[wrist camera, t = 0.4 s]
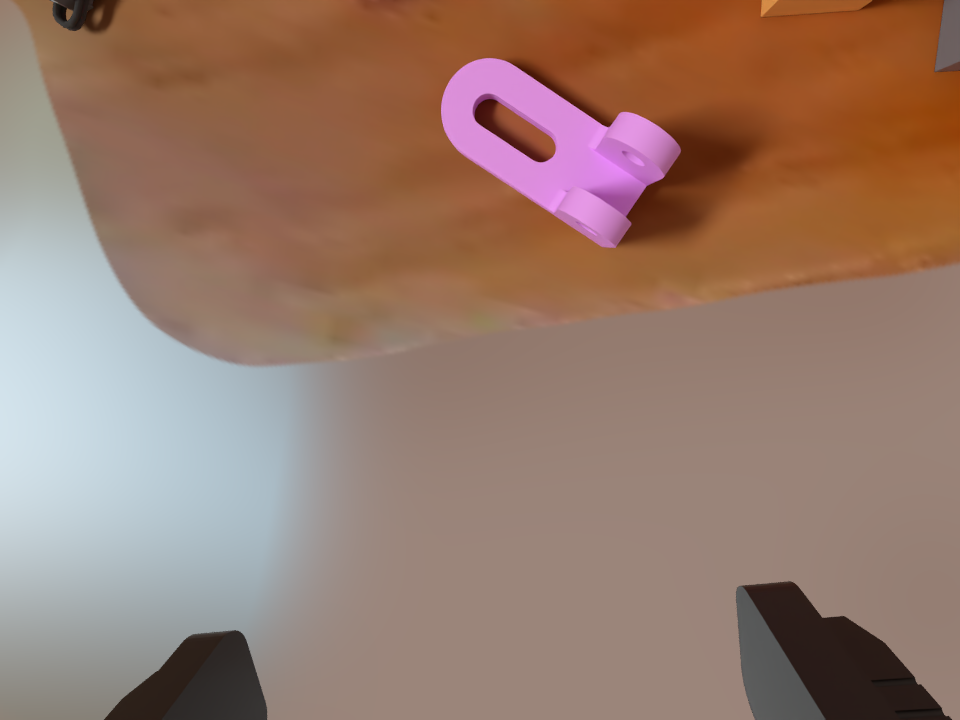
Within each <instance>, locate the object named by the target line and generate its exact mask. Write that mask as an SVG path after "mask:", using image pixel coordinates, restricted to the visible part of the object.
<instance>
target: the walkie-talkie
mask: <svg viewBox="0 0 960 720" xmlns="http://www.w3.org/2000/svg"><path fill="white" fill-rule="evenodd" d="M50 1H52V2H54V3H53V16H54V18H55V20H56V22H58V23H59V24H60V25H61V26H63V27H64V28H67V29H69V30H71V31H77V30H79V29H81V27H82V25H83V23H84V22H85V20H86V15H87V11H89V10H90V9H92V8H93V6H92V4H93V0H50ZM67 8H68V9H70V10H72V11H73V14H72V16H71V18H70V19H69V20H68V21H67V20H66V10H67Z"/></svg>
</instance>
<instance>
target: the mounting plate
mask: <svg viewBox="0 0 960 720" xmlns="http://www.w3.org/2000/svg"><path fill="white" fill-rule="evenodd" d="M959 70H960V0H944V6H943V14H942V21H941V28H940V36H939V43H938V50H937V58H936V65H935V72H942V71H959Z"/></svg>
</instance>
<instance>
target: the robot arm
mask: <svg viewBox="0 0 960 720" xmlns="http://www.w3.org/2000/svg"><path fill="white" fill-rule="evenodd" d="M736 603H737V615H738V628H739V642H740V655H741V668H742V676H743V682H744V686H745V690H746V694H747V697H748V701H749V704H750V707H751V710H752V713H753V716H754V718H755V720H952V719H951V718H950V717H949V716H945V715H944V713H943V712H942V708H941V707H940V705H939V704H938V703H937V702H936V701H935V700H934V699H933V698H932V696H931V695H930V694H929V693H928V692H927V691H926V689H924V687H923V686H922V685H918V684H917V683H916V681H915V677H914V676H913V675H912V674H911V673H910V671H909V670H908V669H907V668H906V667H905V666H904V664H903V663H902V662H901V661H900V660H899V659H898V658H897V657H896V656H895V654H894V653H893V652H892V651H891V650H890V648H889V647H888V646H887V645H886V644H885V643H884V642H883V641H881V640H880V639H878V638H877V637H875V636H874V635H872V634H870V633H869V632H867V631H866V630H864V629H863V628H861V627H860V626H858V625H857V624H855V623H854V622H852V621H851V620H849V619H848V618H846V617H844V616H840V617H829V618H822V617H821V615H820V614H819V613H818V612H817V610H816V609H815V608H814V606H813V605H812V604H811V602H810V601H809V600H808V599H807V597H806V596H805V595H804V593H803V592H802V591H801V590H800V588H799V587H798V586H797V585H796V584H795V583H793V582H778V583H768V584H756V585H745V586H739V587H738V588H737V591H736ZM104 720H267V707H266V703H265V699H264V696H263V693H262V689H261V686H260V683H259V680H258V676H257V673H256V670H255V667H254V664H253V660H252V657H251V654H250V651H249V648H248V644H247V641H246V639H245V637H244V635H243V634H242V633H241V632H239V631H236V630H234V631H223V632H214V633H213V632H212V633H201V634H193V635H191V636H189V637H188V638H186V639H185V640H184V641H183V642H182V643H181V645H180V646H179V647H178V648H177V650H176V651H175V652H174V653H173V654H172V655H171V657H170V658H169V659H168V660H167V661H166V662H165V664H164V665H163V666H162V667H161V669H160V670H159V671H157V672H155V673H154V674H153V675H151V676H150V677H149V678H148V679H146V680H145V681H144V682H143V683H142V684H140V685H139V686H138V687H136V688H135V689H134V690H133V691H131V692H130V693H129V694H128V695H126V696H125V697H124V698H123V699H122V700H121V701H120V702H119V703H118V704H117V705H116V706H115V708H114V709H113V710H112V711H111V712H110V713H109V714H108V716H107V717H106V718H105V719H104Z"/></svg>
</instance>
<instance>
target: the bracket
mask: <svg viewBox="0 0 960 720" xmlns="http://www.w3.org/2000/svg"><path fill="white" fill-rule="evenodd" d="M486 99H494V100H496V101H498V102H500V103H501V104H503V105H504V106H506V107H507V108H509V109H510V110H512V111H513V112H515V113H516V114H518V115H519V116H521V117H522V118H524V119H525V120H527V121H528V122H530V123H531V124H533V125H534V126H536V127H537V128H539V129H540V130H542V131H543V132H545V133H546V134H548V135H549V136H550V137H551V138H552V139H553V140H554V142H555V145H556V153H555V154H554V156H553V157H552V158H551V159H550V160H548V161H546V162H535V161H533V160H532V159H530V158H529V157H527V156H526V155H524V154H523V153H521V152H520V151H518V150H517V149H515V148H514V147H512V146H511V145H509V144H508V143H506V142H505V141H503V140H502V139H500V138H499V137H497V136H496V135H494V134H493V133H491V132H490V131H488V130H487V129H485V128H484V127H482V126H481V125H479V124H478V123H477V122H476V121H475V110H476V108H477V106H478V105H479V104H480V103H481V102H482V101H484V100H486ZM441 115H442V122H443V126H444V129H445V132H446V134H447V136H448V138H449V139H450V141H451V142H452V144H453V145H454V146H455V148H456V149H457V150H458V151H459V152H460V153H461V154H463V155H464V156H465V157H467V158H468V159H470V160H471V161H473V162H474V163H476V164H477V165H479V166H480V167H482V168H483V169H485V170H486V171H488V172H489V173H491V174H492V175H494V176H496V177H497V178H499V179H500V180H502V181H503V182H505V183H506V184H508V185H509V186H511V187H512V188H514V189H515V190H517V191H518V192H520V193H521V194H523V195H524V196H526V197H527V198H529V199H530V200H532V201H533V202H535V203H536V204H538V205H539V206H541V207H542V208H544V209H546V210H547V211H549V212H550V213H552V214H553V215H555V216H556V217H558V218H559V219H561V220H562V221H564V222H565V223H567V224H568V225H570V226H571V227H573V228H574V229H576V230H577V231H579V232H580V233H582V234H583V235H585V236H586V237H588V238H589V239H591V240H593V241H594V242H596V243H597V244H599V245H600V246H602V247H614V248H616V246H617V245H618V243H619V242H620V240H621V239H622V237H623V236H624V235H625V233H626V232H627V230H628V229H629V227H630V226H631V222H630V221H629V220H628V219H627V218H626V216H627V214H628V213H629V211H630V210H631V208H632V207H633V205H634V204H635V202H636V201H637V200H638V198H639V197H640V195H641V194H642V192H643V191H644V189H645V188H646V186H648V185H650V184H652V183H654V182H656V181H658V180H660V179H662V178H664V176H665V175H666V173H667V172H668V170H669V169H670V167H671V166H672V165H673V163H674V162H675V160H676V159H677V157H678V156H679V154H680V153H681V149H680V147H679V145H678V144H677V142H676V141H675V140H674V139H673V138H672V137H671V136H670V135H669V134H668V133H666V132H665V131H664V130H663V129H661V128H660V127H658V126H657V125H655V124H654V123H652V122H650V121H649V120H647V119H645V118H643V117H641V116H638V115H636V114H633V113H629V112H621V113H620V114H619V115H618V116H617V118H616V119H615V121H614V122H613V123H612V125H611V126H610V127H605V126H603V125H602V124H600V123H599V122H597V121H596V120H594V119H593V118H591V117H590V116H588V115H587V114H585V113H584V112H582V111H581V110H579V109H578V108H576V107H575V106H573V105H572V104H570V103H569V102H567V101H566V100H564V99H563V98H561V97H560V96H558V95H557V94H556V93H554V92H553V91H551V90H550V89H548V88H547V87H545V86H544V85H542V84H541V83H539V82H538V81H536V80H535V79H533V78H532V77H530V76H529V75H527V74H526V73H524V72H523V71H521V70H520V69H518V68H517V67H515V66H514V65H512V64H510V63H508V62H506V61H503V60H500V59H494V58H486V59H479V60H476V61H473V62H471V63H469V64H467V65H465V66H464V67H463V68H461V69H460V70H459V71H458V72H457V73H456V74H455V75H454V76H453V77H452V79H451V80H450V82H449V83H448V85H447V87H446V89H445V92H444V95H443V99H442V106H441Z"/></svg>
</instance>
